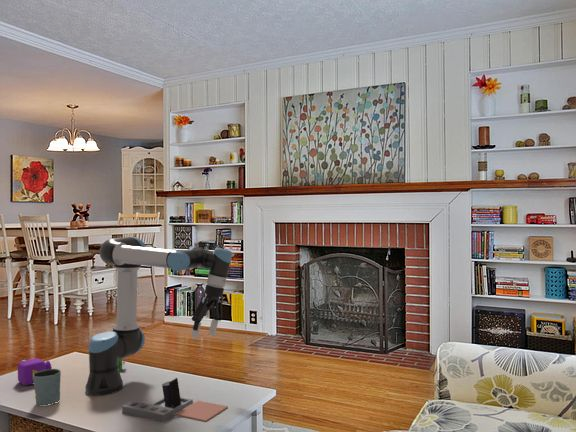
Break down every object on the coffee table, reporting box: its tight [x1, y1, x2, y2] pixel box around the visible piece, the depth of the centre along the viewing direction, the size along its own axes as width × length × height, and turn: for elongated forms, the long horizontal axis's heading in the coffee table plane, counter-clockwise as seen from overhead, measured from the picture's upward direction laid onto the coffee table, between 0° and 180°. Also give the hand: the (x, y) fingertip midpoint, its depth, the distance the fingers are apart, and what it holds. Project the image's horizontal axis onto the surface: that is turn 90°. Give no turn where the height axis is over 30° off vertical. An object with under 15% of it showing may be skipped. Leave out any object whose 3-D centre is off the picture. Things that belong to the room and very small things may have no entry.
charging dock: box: [121, 396, 194, 423], centre depth 189 cm, size 20×20×3 cm
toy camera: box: [17, 358, 53, 386], centre depth 223 cm, size 11×14×10 cm
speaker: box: [161, 377, 182, 409], centre depth 192 cm, size 8×6×10 cm
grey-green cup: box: [33, 368, 62, 405], centre depth 197 cm, size 10×10×12 cm
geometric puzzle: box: [118, 358, 126, 371], centre depth 237 cm, size 7×7×8 cm
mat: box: [174, 400, 229, 422], centre depth 185 cm, size 14×14×1 cm
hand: (203, 336), depth 200 cm, fingers open, 13 cm apart
